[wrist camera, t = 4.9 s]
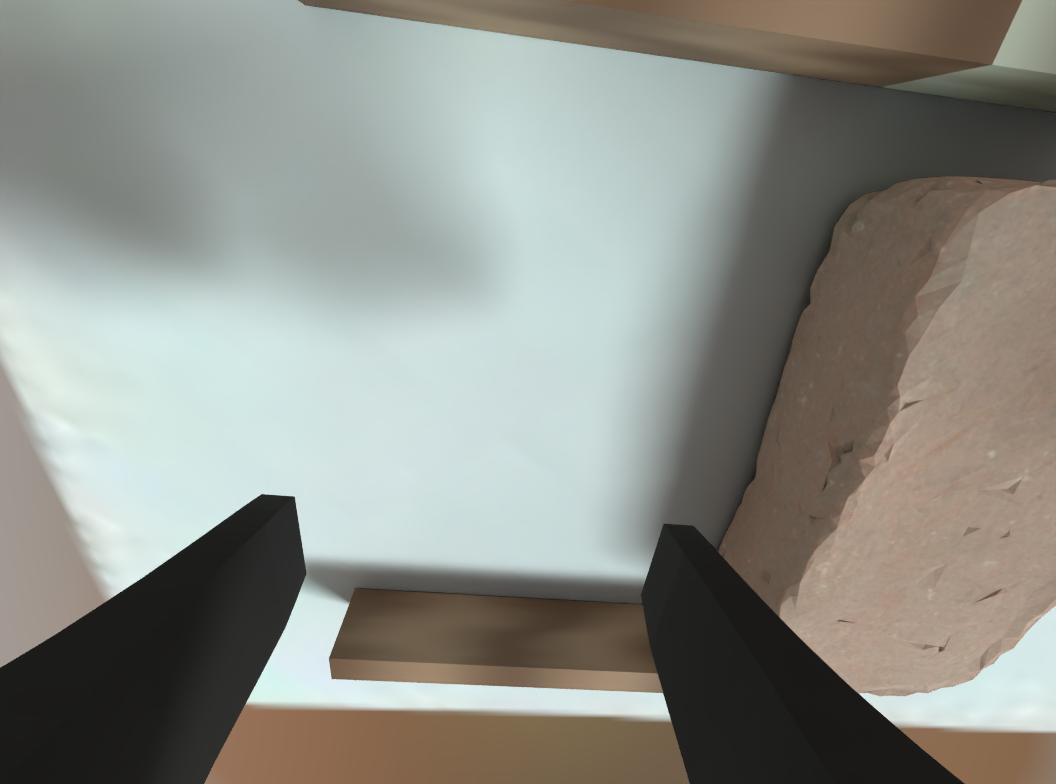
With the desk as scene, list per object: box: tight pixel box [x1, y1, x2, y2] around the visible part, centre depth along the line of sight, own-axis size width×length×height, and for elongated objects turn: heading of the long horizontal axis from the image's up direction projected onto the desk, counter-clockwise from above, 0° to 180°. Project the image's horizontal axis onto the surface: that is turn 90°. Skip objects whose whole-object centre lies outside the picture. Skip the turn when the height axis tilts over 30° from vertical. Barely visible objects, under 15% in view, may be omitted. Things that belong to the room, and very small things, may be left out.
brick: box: [718, 176, 1056, 696], centre depth 14 cm, size 17×8×5 cm, turn 176°
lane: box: [299, 0, 1056, 693], centre depth 14 cm, size 20×22×3 cm
